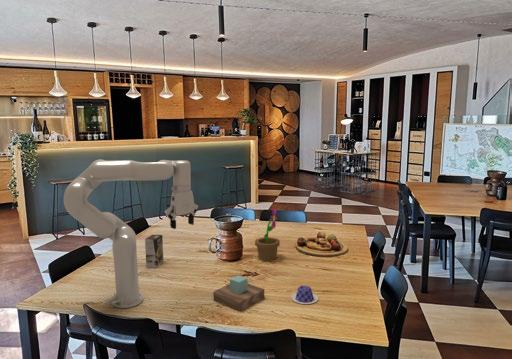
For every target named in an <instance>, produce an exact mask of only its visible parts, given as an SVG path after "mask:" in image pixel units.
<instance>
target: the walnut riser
mask: <svg viewBox="0 0 512 359" xmlns="http://www.w3.org/2000/svg"><path fill="white" fill-rule="evenodd" d="M247 286H248V290H247V291H245V292H243V293H241V294H237V293H234V292H232V291H230V283H229V284H227V285H225V286H222V287H220V288H218V289H216V290H214V291H213V301H215V302H217V303H219V304H222V305H223V306H227V307H229V308H231V309H233V310H236V311H238V312H242V311H244V310H246V309H247V308H249V307H251V306H253V305H254V304H257V303H258V302H259V301H261V300H264V299H265V289H264V288H262V287H259V286H257V285H254V284H251V283H249V282H247Z"/></svg>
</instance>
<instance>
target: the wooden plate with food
mask: <svg viewBox="0 0 512 359" xmlns="http://www.w3.org/2000/svg"><path fill="white" fill-rule="evenodd" d="M294 247H295V249H296V250H297V251H298V252H300V253H303V254H304V255H307V256H312V257H316V258H317V257H318V258H319V257H320V258H333V257H339V256H343V255H345V254H346V253H347V252H348V251H349V248H348V245H347V244H346V243H345V242H343V241H341V240H338V238H337V237H336V235H335V234H333V233H331V234H329V235H328V236H327V235H326V234H325V233H324V232H323V231H319V232H318V233H317V235H316V237H314V236H313V237H312V236H308V237H306V238H304V237H303V236H299V237H298V238H297V241H296V243H295V246H294Z"/></svg>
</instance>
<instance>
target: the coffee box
mask: <svg viewBox="0 0 512 359" xmlns="http://www.w3.org/2000/svg"><path fill="white" fill-rule="evenodd" d="M163 243H164V242H163V234H151V235H149V236H148V237H146V238H145V239H144V244H145V246H144V248H145V249H144V250H145V266H146V268H154V269H157V268H158V267H159V266H161V265H162V264H164V262H165V261H164V244H163Z"/></svg>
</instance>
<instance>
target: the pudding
mask: <svg viewBox="0 0 512 359" xmlns="http://www.w3.org/2000/svg"><path fill="white" fill-rule="evenodd" d="M290 299H291V300H292V301H294V302H295V303H297V304H302V305H303V304H304V305H311V304H314V303H316V302H318V301H319V296H318V295H317V294H316V293H313V290H312V288H311V287H310V286H307V285H300V286H298V288H297V291H296V292H294V293H292V294H291V295H290Z"/></svg>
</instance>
